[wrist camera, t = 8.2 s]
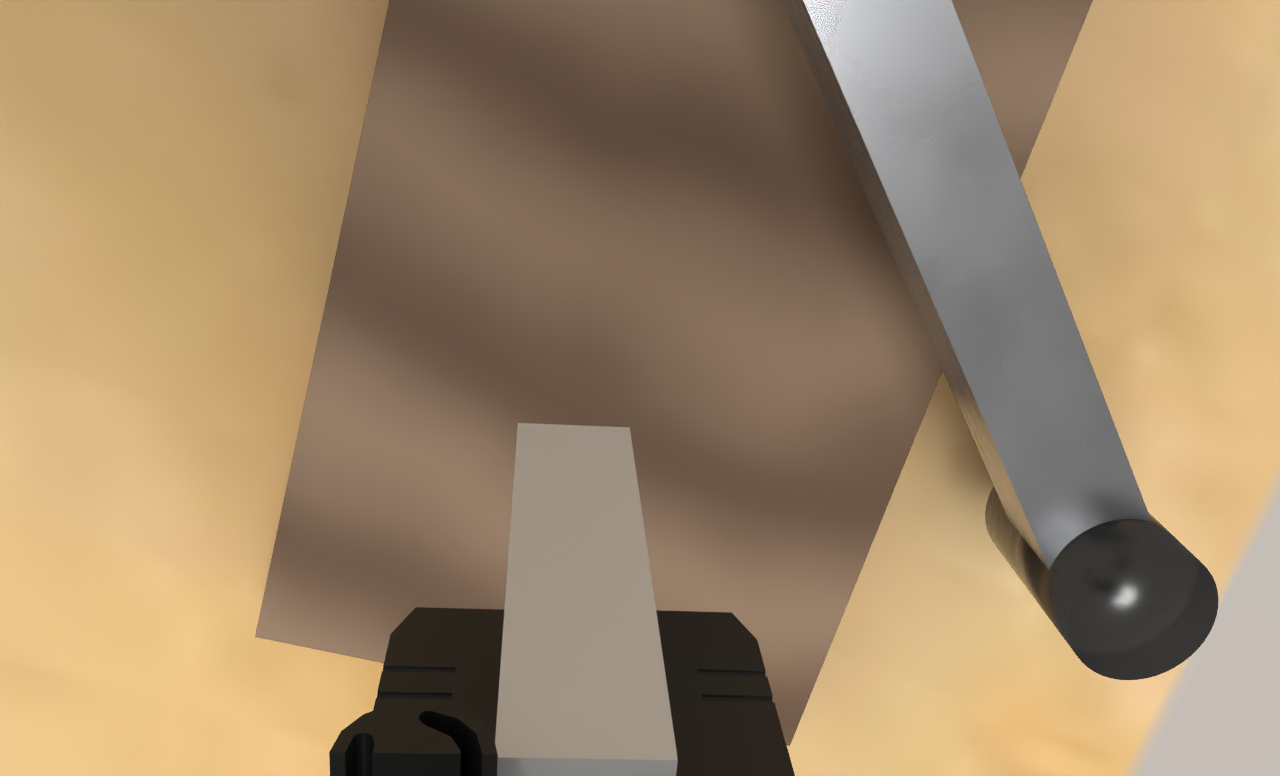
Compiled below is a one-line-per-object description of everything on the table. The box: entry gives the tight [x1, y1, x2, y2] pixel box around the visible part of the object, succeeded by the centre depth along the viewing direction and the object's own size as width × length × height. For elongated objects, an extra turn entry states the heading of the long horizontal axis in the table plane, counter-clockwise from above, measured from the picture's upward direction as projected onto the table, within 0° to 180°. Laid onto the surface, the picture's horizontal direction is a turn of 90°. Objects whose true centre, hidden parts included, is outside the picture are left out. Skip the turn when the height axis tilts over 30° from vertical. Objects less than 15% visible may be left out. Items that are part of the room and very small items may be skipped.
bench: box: [255, 0, 1093, 746], centre depth 25 cm, size 32×15×6 cm, turn 163°
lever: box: [781, 0, 1218, 680], centre depth 23 cm, size 26×5×5 cm, turn 27°
